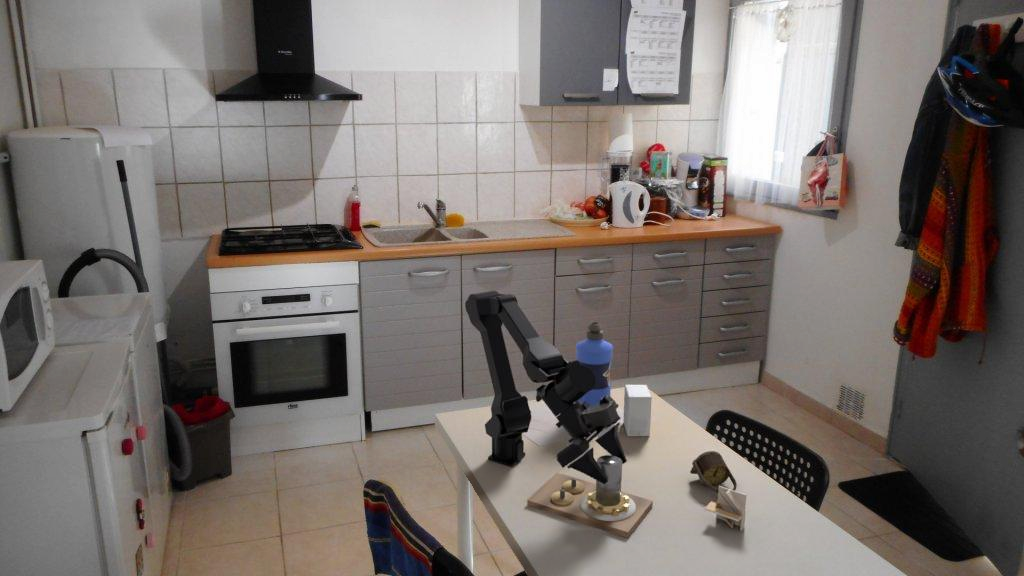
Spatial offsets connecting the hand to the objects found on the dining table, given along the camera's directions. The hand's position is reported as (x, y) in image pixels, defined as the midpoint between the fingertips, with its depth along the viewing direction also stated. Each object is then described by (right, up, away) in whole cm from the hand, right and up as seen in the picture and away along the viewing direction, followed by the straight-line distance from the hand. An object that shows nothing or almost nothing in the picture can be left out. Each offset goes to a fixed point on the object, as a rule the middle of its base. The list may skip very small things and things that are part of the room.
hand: (615, 472), depth 149 cm
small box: (+10, +1, +39) cm, 40 cm away
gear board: (-5, -8, +5) cm, 11 cm away
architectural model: (+22, -11, -1) cm, 24 cm away
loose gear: (-1, -7, +3) cm, 8 cm away
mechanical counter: (+22, -7, +11) cm, 26 cm away
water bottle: (0, +3, +47) cm, 47 cm away
